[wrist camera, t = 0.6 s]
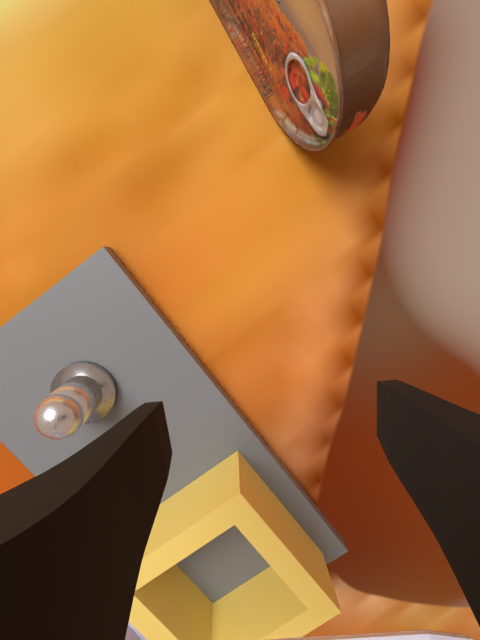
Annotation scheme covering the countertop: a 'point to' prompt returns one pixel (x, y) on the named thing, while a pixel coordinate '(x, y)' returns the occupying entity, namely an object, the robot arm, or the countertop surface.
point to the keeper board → (136, 389)
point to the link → (251, 597)
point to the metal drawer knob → (75, 399)
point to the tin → (312, 61)
